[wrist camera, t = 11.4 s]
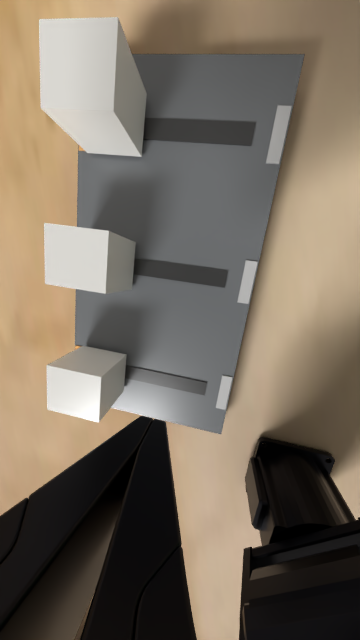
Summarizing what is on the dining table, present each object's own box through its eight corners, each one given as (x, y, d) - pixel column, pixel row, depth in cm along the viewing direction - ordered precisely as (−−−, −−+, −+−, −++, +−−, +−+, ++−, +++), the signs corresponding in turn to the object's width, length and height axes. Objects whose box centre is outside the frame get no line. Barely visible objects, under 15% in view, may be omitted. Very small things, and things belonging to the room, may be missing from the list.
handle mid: (135, 242, 15) (108, 230, 11) (131, 289, 16) (105, 293, 12) (86, 235, 16) (44, 223, 12) (84, 282, 16) (45, 283, 13)
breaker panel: (291, 85, 14) (305, 52, 12) (220, 418, 20) (221, 435, 18) (96, 81, 15) (78, 52, 13) (86, 387, 21) (73, 399, 19)
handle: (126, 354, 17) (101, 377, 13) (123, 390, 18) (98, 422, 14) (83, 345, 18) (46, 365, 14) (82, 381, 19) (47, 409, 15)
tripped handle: (146, 93, 13) (118, 17, 9) (141, 156, 14) (113, 110, 10) (89, 92, 14) (39, 19, 10) (87, 153, 14) (40, 107, 10)
